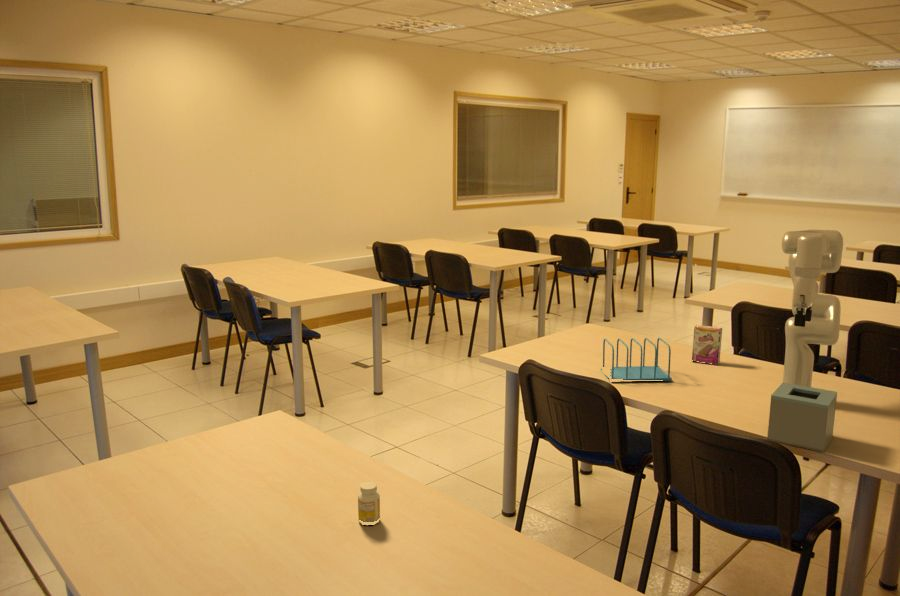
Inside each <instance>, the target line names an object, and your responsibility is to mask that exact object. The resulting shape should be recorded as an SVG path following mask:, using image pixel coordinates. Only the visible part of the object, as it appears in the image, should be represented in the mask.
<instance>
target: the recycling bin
mask: <svg viewBox="0 0 900 596" xmlns="http://www.w3.org/2000/svg"><path fill="white" fill-rule="evenodd" d="M837 398H838V391H835V390H827V389H822V388H816V387H812V386H811V387H806V386H800V385H795V384H789V383H783V382H782V383H781V384H780V385H778V387H777V388H776V390H774V392H773V393H772V394H771V396H770V405H769V418H768V427H767V429H768V430H767V438H766V439H767V441H768V442H769V441H770V442H775V443H779V444H783V445H788V446H792V447H797V448H802V449H805V450H810V449H811V451H815V452H820V453H825V451H826V449H827V447H828V445H829V444H830V442H831V440H832V438H833V436H834V427H835V417H836V409H837ZM828 443H829V444H828Z"/></svg>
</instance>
